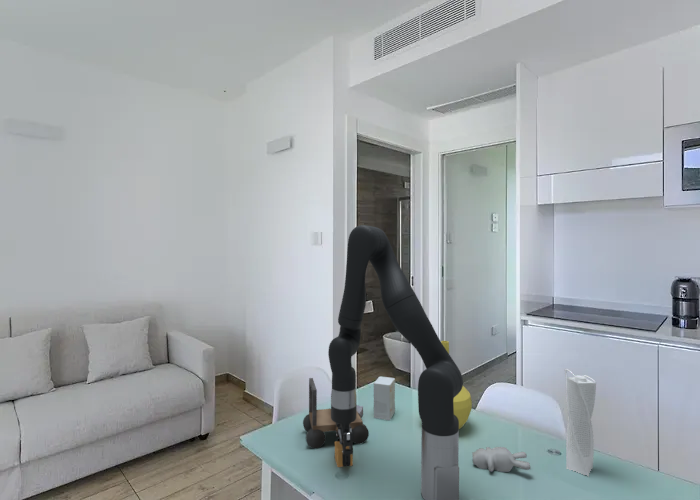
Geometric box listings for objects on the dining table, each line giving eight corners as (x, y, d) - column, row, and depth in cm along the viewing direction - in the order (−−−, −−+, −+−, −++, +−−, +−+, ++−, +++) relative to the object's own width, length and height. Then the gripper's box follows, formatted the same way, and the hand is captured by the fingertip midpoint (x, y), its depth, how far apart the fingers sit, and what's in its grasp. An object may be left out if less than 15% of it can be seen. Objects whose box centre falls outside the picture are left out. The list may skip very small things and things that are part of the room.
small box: (379, 409, 152) (379, 375, 151) (395, 411, 149) (395, 377, 149) (373, 418, 144) (373, 382, 144) (389, 420, 142) (390, 385, 142)
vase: (440, 410, 150) (441, 333, 150) (482, 428, 136) (483, 343, 136) (407, 423, 139) (407, 340, 139) (448, 445, 125) (449, 351, 124)
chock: (352, 465, 113) (352, 448, 113) (337, 467, 112) (337, 450, 112) (349, 456, 118) (349, 440, 118) (334, 458, 117) (334, 441, 117)
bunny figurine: (471, 442, 119) (524, 443, 115) (473, 459, 119) (526, 460, 115) (472, 458, 110) (530, 460, 106) (474, 476, 110) (532, 479, 106)
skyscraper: (559, 469, 112) (561, 371, 111) (566, 458, 117) (567, 365, 117) (592, 480, 106) (593, 377, 106) (597, 468, 112) (598, 370, 112)
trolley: (360, 426, 138) (360, 374, 137) (368, 443, 126) (369, 386, 126) (302, 431, 133) (303, 378, 133) (306, 449, 122) (306, 391, 121)
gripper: (361, 411, 109) (361, 470, 109) (351, 392, 122) (350, 444, 123) (335, 414, 107) (334, 473, 107) (327, 394, 121) (327, 446, 121)
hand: (343, 457), depth 115 cm, fingers open, 8 cm apart
